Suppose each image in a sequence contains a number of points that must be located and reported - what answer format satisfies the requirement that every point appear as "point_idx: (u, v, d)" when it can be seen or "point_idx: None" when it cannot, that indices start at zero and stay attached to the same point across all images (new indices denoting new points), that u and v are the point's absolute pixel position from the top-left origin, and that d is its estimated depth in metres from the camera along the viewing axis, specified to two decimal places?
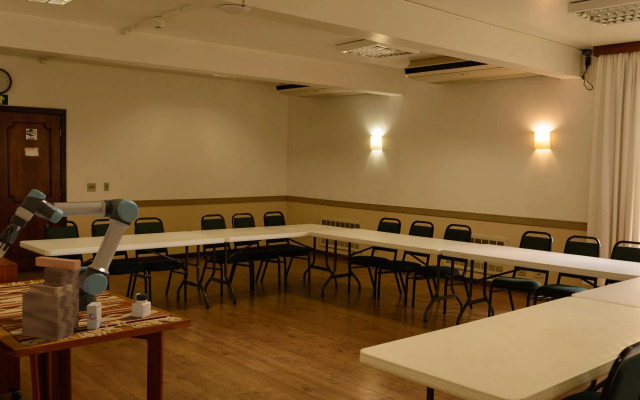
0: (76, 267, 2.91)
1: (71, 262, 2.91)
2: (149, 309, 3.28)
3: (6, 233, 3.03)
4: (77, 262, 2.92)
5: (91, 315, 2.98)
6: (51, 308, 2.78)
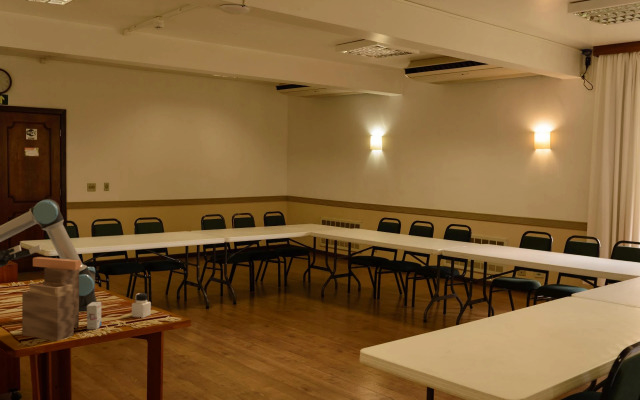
0: (76, 267, 2.91)
1: (72, 262, 2.91)
2: (149, 309, 3.28)
3: (17, 255, 3.09)
4: (77, 262, 2.92)
5: (91, 315, 2.98)
6: (51, 308, 2.78)
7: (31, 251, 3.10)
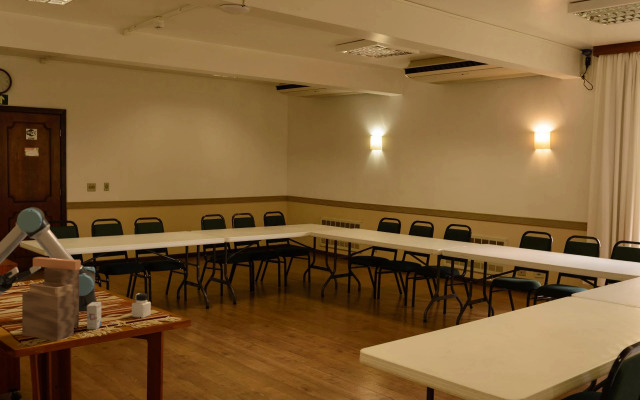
0: (76, 267, 2.91)
1: (72, 262, 2.91)
2: (149, 309, 3.28)
3: (19, 277, 3.09)
4: (77, 262, 2.92)
5: (91, 315, 2.98)
6: (51, 308, 2.78)
7: (32, 270, 3.10)
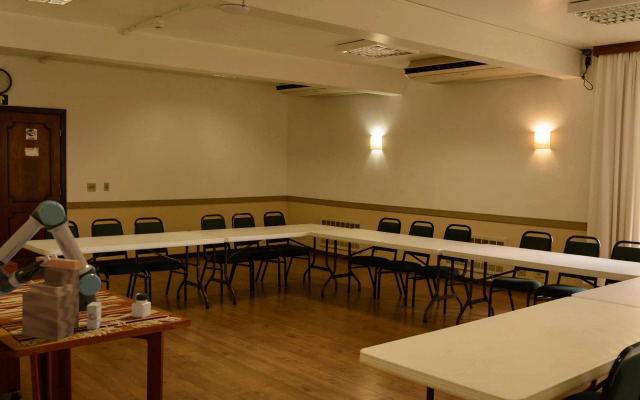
0: (76, 267, 2.91)
1: (71, 262, 2.91)
2: (149, 309, 3.28)
3: (37, 268, 3.03)
4: (77, 262, 2.92)
5: (91, 315, 2.98)
6: (51, 308, 2.78)
7: None
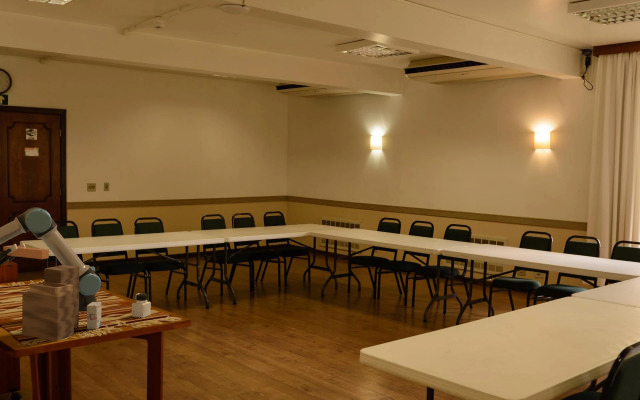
0: (43, 256, 2.83)
1: (38, 251, 2.83)
2: (149, 309, 3.28)
3: (5, 258, 2.95)
4: (45, 251, 2.84)
5: (91, 315, 2.98)
6: (51, 308, 2.78)
7: None
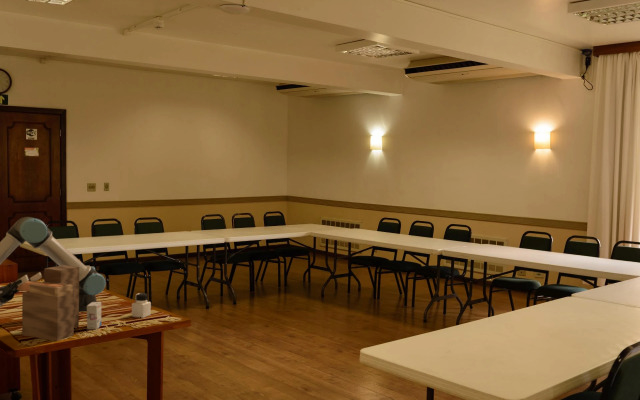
0: None
1: None
2: (149, 309, 3.28)
3: None
4: None
5: (91, 315, 2.98)
6: (51, 308, 2.78)
7: (32, 280, 2.93)
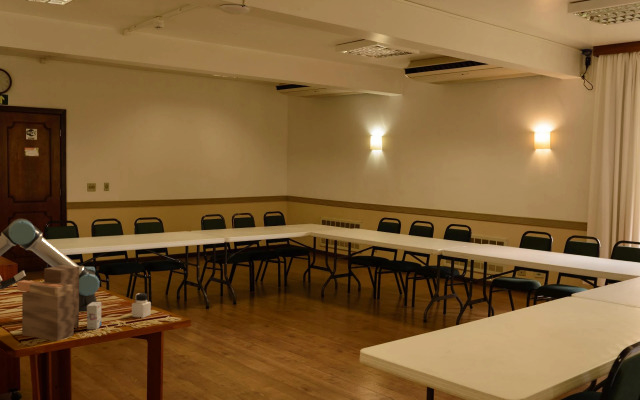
0: None
1: None
2: (149, 309, 3.28)
3: (3, 284, 2.99)
4: None
5: (91, 315, 2.98)
6: (51, 308, 2.78)
7: (16, 278, 3.00)
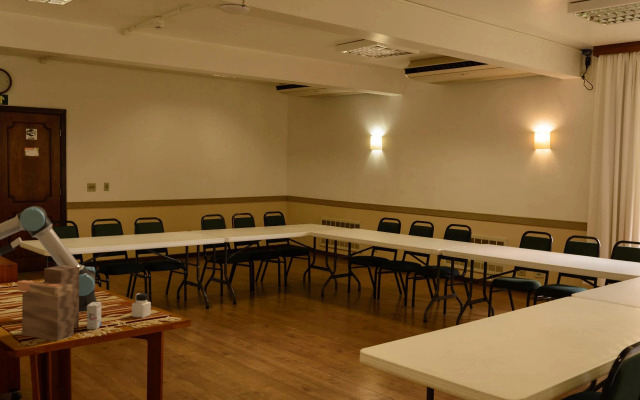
0: None
1: None
2: (149, 309, 3.28)
3: (0, 251, 3.05)
4: None
5: (91, 315, 2.98)
6: (51, 308, 2.78)
7: (13, 245, 3.05)
